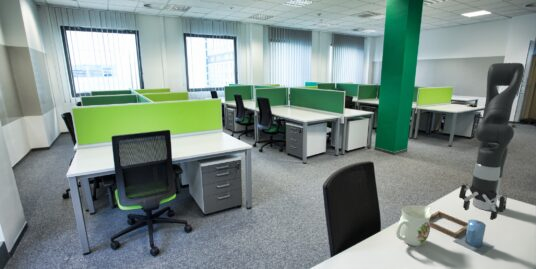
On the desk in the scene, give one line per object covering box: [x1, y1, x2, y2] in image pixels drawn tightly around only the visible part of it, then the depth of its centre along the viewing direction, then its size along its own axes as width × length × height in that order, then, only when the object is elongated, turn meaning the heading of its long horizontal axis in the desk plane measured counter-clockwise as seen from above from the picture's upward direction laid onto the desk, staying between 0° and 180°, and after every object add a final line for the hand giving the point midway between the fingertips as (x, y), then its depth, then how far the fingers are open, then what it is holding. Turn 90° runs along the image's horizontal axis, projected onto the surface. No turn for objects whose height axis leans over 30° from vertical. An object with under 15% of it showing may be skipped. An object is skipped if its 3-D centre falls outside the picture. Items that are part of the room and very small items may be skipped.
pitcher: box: [395, 205, 432, 247], centre depth 107 cm, size 11×18×14 cm, turn 116°
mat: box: [453, 233, 495, 256], centre depth 107 cm, size 10×10×1 cm
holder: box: [429, 210, 468, 239], centre depth 120 cm, size 14×14×2 cm
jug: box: [465, 219, 487, 248], centre depth 106 cm, size 8×6×9 cm
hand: (478, 214), depth 104 cm, fingers open, 8 cm apart
